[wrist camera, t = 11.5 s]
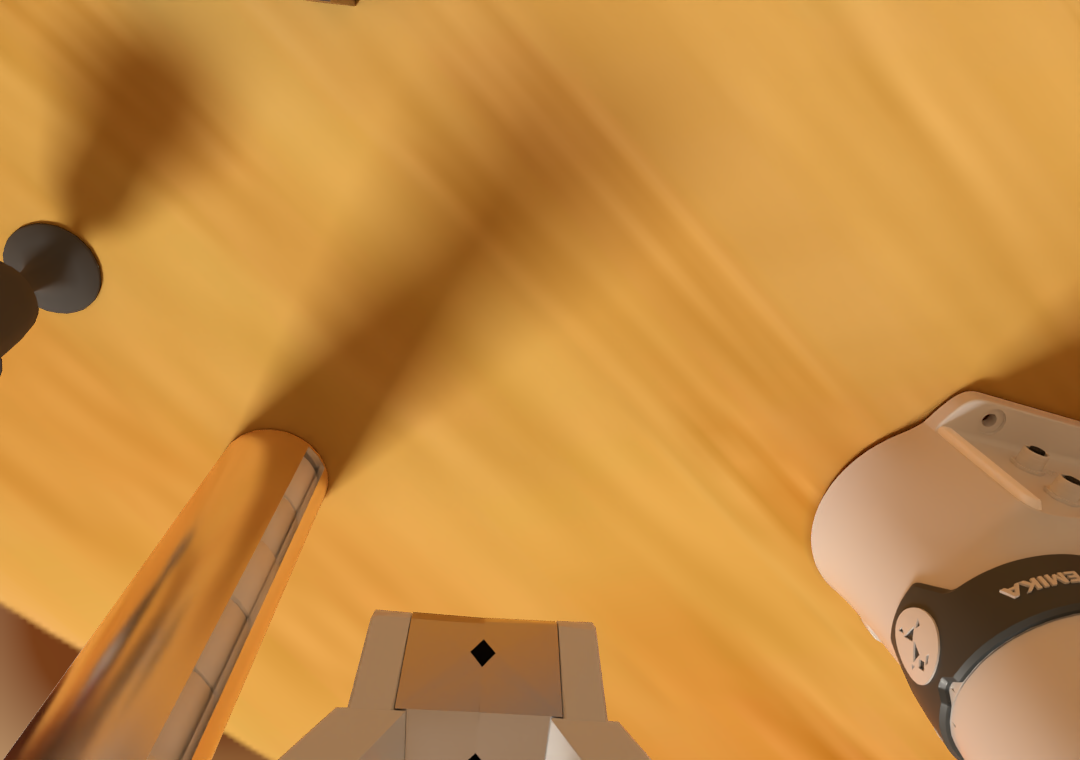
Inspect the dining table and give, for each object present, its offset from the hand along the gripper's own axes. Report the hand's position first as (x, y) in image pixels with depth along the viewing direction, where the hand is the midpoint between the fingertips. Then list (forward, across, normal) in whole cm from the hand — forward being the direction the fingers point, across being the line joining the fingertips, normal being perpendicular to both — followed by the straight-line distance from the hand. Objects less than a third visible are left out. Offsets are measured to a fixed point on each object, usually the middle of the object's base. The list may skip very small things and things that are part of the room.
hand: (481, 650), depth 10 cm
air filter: (+31, +13, +18) cm, 38 cm away
